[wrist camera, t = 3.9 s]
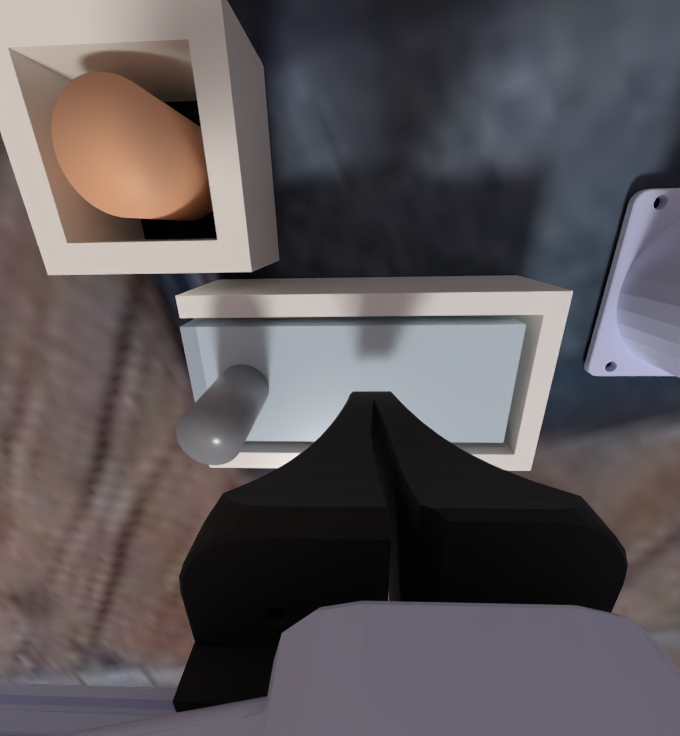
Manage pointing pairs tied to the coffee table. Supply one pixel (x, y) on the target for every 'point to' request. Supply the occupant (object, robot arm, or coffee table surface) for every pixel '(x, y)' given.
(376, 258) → the coffee table surface
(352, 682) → the robot arm
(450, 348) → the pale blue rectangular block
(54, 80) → the button housing
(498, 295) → the cartridge sleeve
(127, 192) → the plunger button
